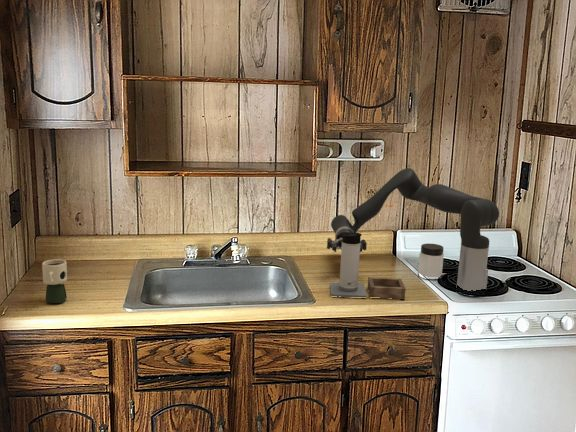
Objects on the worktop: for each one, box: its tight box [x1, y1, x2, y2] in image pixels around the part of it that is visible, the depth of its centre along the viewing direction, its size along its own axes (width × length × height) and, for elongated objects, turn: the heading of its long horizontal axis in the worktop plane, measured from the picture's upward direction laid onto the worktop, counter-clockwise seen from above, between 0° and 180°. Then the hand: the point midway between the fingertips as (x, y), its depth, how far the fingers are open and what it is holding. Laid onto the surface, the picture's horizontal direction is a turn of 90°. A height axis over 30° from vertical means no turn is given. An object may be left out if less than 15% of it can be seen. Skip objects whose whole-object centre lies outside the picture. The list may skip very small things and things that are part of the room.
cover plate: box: [329, 282, 368, 298], centre depth 207 cm, size 12×12×1 cm
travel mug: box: [339, 232, 362, 292], centre depth 205 cm, size 6×7×20 cm
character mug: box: [41, 258, 68, 304], centre depth 188 cm, size 11×7×13 cm, turn 6°
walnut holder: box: [367, 276, 406, 300], centre depth 206 cm, size 12×10×4 cm
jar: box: [417, 243, 445, 277], centre depth 225 cm, size 9×8×12 cm
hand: (347, 249), depth 212 cm, fingers open, 8 cm apart
